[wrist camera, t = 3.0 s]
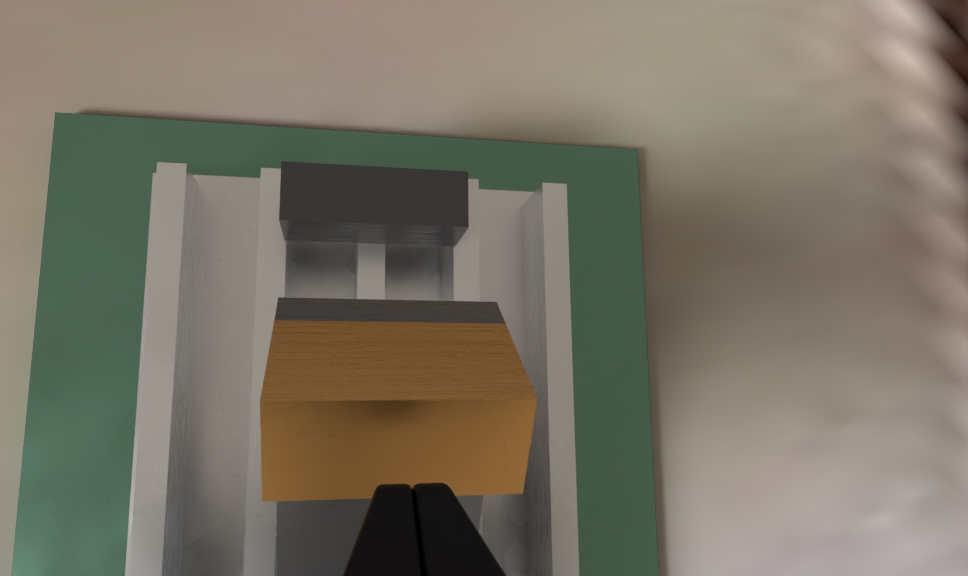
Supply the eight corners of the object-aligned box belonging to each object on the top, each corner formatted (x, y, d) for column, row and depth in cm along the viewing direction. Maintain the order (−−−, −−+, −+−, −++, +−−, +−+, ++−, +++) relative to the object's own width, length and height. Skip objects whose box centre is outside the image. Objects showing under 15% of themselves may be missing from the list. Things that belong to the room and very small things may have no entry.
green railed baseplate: (661, 793, 22) (777, 924, 16) (-8, 872, 19) (-160, 1073, 13) (630, 155, 26) (716, 78, 20) (62, 120, 22) (-33, 14, 16)
